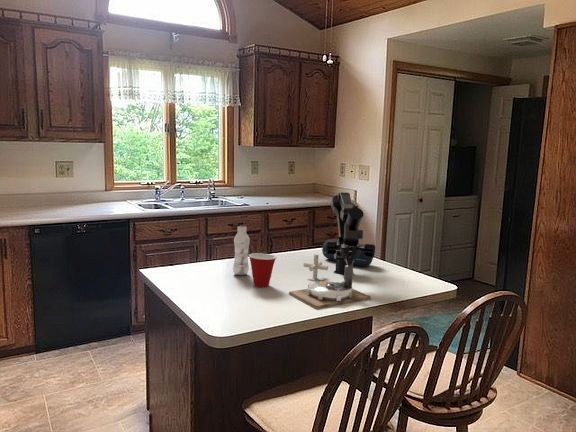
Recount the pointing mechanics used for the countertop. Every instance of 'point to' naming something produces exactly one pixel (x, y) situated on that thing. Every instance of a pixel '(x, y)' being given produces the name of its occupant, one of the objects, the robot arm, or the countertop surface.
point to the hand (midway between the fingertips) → (349, 267)
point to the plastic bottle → (241, 251)
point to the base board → (319, 303)
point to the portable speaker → (359, 261)
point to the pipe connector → (315, 266)
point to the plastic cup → (261, 268)
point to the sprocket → (333, 288)
